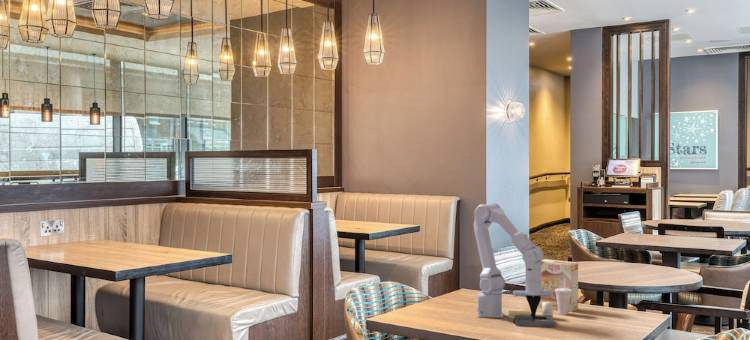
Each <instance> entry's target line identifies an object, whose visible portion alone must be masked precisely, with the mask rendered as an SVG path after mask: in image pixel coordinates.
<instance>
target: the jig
mask: <svg viewBox="0 0 750 340" xmlns="http://www.w3.org/2000/svg"><path fill="white" fill-rule="evenodd" d="M513 320H514V325H515V327H538V328H539V327H541V328H544V327H545V328H555V320H554V317H553V318H552V316H551V315H542V314H535V317H533V316H515V318H513Z"/></svg>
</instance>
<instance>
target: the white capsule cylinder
mask: <svg viewBox="0 0 750 340" xmlns="http://www.w3.org/2000/svg"><path fill="white" fill-rule="evenodd" d="M541 308H542V309H541V312H542V313H541V315H551V316H552V318H553V319H554V317H553V316H554V309H553V303H552V302H542V307H541Z"/></svg>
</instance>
